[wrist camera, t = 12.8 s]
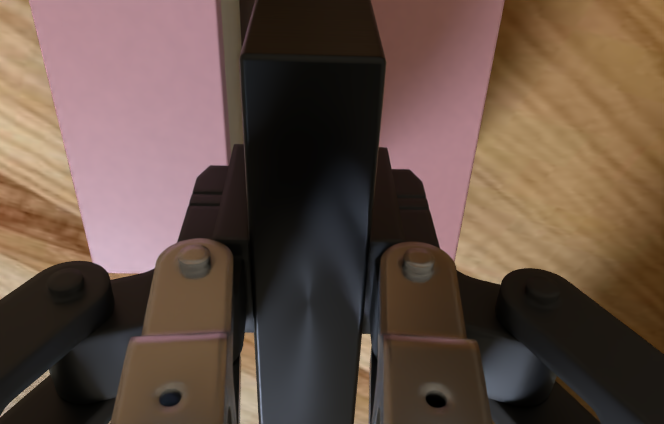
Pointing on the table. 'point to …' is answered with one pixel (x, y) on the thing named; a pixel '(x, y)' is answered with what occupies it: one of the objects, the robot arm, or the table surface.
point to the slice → (437, 96)
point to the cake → (141, 112)
